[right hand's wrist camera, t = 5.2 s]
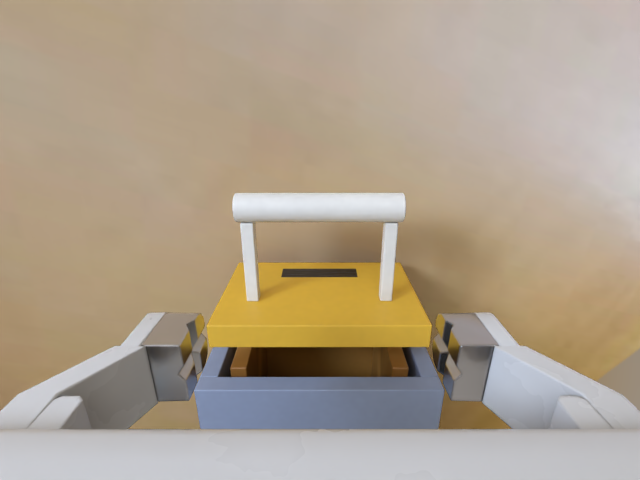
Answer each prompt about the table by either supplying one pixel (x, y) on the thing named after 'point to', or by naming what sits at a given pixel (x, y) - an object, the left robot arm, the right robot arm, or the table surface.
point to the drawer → (319, 297)
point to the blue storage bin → (319, 398)
